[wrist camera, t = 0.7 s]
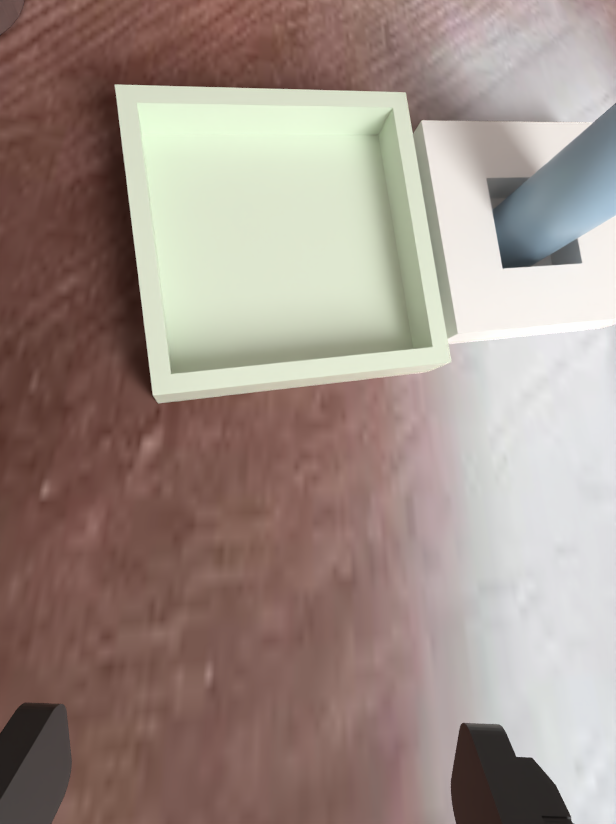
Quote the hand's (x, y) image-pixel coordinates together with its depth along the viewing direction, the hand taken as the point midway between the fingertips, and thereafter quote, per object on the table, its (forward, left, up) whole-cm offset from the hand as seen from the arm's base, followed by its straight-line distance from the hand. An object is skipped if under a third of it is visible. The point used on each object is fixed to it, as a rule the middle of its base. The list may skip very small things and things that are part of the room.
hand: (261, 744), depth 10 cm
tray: (-20, +7, -24) cm, 32 cm away
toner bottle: (-20, +26, -23) cm, 40 cm away
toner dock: (-20, +26, -24) cm, 41 cm away
